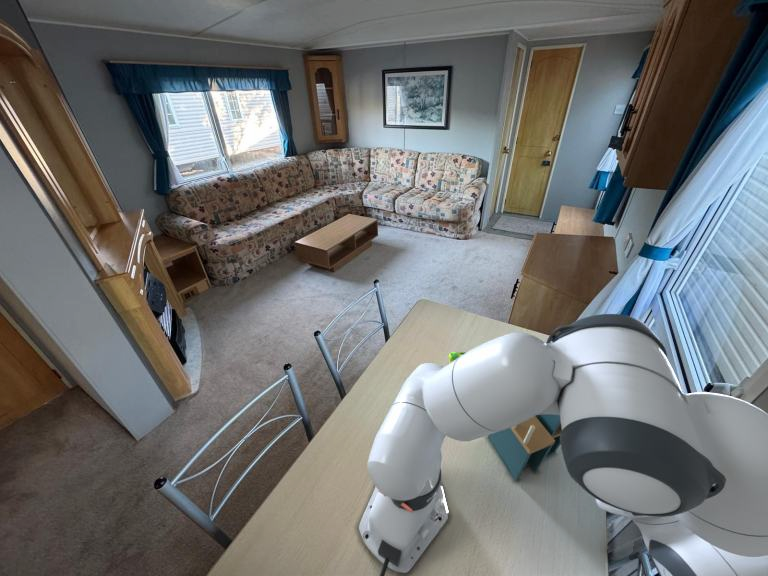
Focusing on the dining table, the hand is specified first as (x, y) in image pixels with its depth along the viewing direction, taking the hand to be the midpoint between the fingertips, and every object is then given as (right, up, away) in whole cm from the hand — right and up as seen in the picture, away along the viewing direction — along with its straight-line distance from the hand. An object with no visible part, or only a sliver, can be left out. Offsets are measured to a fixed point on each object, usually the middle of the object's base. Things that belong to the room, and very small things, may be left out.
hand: (604, 416), depth 61 cm
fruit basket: (-18, -4, +44) cm, 48 cm away
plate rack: (-6, -18, +24) cm, 31 cm away
